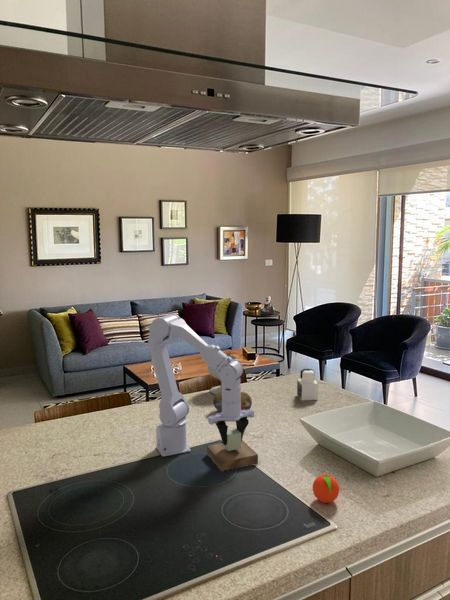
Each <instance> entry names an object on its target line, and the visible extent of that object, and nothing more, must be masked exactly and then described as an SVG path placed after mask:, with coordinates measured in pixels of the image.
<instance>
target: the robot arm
mask: <svg viewBox="0 0 450 600" xmlns="http://www.w3.org/2000/svg"><path fill="white" fill-rule="evenodd" d="M148 330H149V335H148V341H147V344H148V348H149V353H150V357H151V361H152V364H153V368H154V373H155V376H156V379H157V383H158V387H159V391H160V395H161V398H160V401H159V404H158V408H159V414H158V416H159V420H160V422H161V424H159V425H156V428H155V435H156V436H155V439H156V445H155V447H156V449H157V450H158V453H160V455H161V457H168V456H174V455H179V454H183V453H188V452H191V448H190V447H189V446H188V445H187V416H188V414H189V412H190V406H189V404H188V402H187V401H186V400H185V395H184V394H183V393H181V392H180V391H179V389H178V385H177V381H176V378H175V375H174V369H173V366H172V363H171V362H172V361H171V357H170V355H169V354H170V353H169V351H168V348H167V347H168V346H167V344H168V343H169V341H170V340H171V339H181V340H183V341H184V342H185V343H186V344H188V345H189V346H190V347H192V348H193V349H194V350H196V351H198V353H200V356H201V360H202V361H203V362H205V363H206V365H207V364H208V365H210V366H211V367H212V368H213V369H214V370H215V371H217V372H218V375H219V378H220V379H221V381H222V412H219V413H215V414H214V415H209V416H208V418H207V419H208V421H207V422H208V423H209V425H210V426H213V425H214V424H215V426H216V427H217V429H218V433H219V435H220V438H221V443H223V444H224V445H227V429H229V428H228V427H229V426H228V425H227V422H230V421H233V422H235V426H236V427H235V428H236V429H237V430H238V431H240V432H241V442H242V440H243V437H244V433H245V430H246V429H247V427H248V425H249V421H250V420H249V419H248V418H255V410H253V409H251V408H250V410H241V392H242V391H241V388H242V386H241V376H242V374H243V372H244V367H243V364H242V363H241V362H240V361H239V359H237V360H236V359H232V358H231V357H228V356H227V355H228V354H226V353H225V352H224V351H222V350H221V347H220V346H219V345H215V344H208V343H207V342H206V341H205V340H204V339H203V338H201V337H200V335H198V334H197V333H196V332H195V331H194V330H193V329H192V328H191V327H190V326H189V325H188V324H187V323H186V321H185V319H183V318H181V317H180V316H179V315H178V314H176V313H174V312H173V313H171V312H170V313H168V314H167V315H166V314H165V315H164V316H160V317H156V318H155V319H153V320H152V322H151V323H150V325H149V326H148ZM221 381H220V382H221Z"/></svg>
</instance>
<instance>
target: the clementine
mask: <svg viewBox="0 0 450 600" xmlns="http://www.w3.org/2000/svg"><path fill="white" fill-rule="evenodd" d="M312 493H313V496H315V498H316V499H317V500H318V501H320V502H321V503H325V504H329V503H331V502H334V501H335V500H336V499H337V498H338V497H339V494H340V485H339V483H338V480H337V479H335V477H333V476H332V475H329V474H324V473H323V474H321V475H319V476H317V477H316V478H315V479H314V481H313V483H312Z"/></svg>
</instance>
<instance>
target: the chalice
mask: <svg viewBox="0 0 450 600" xmlns="http://www.w3.org/2000/svg"><path fill="white" fill-rule="evenodd" d="M226 355H227V356H228V357H231V358H232V359H236V360H238V358H237V357H236V356H235V355H232V354H226ZM206 369H207V373H208V374H209V375H210V376H212V377H213V378H215V379H218V380H219V381H220V383H221V384H220V385H217V386H212V387H211V388H210V389H209V393H210V394H213V395H216V394H217V393H219V392H221V391H222V381H221V379H220V378H219V375H218V372H217V371H215V370H214V369H213V368H212V367H211V366H210V365H208V364H207V363H206Z"/></svg>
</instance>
